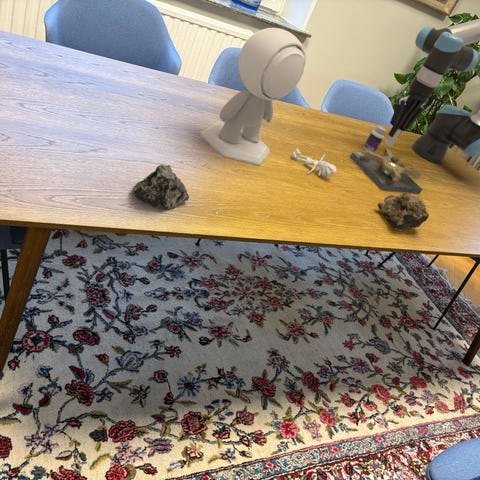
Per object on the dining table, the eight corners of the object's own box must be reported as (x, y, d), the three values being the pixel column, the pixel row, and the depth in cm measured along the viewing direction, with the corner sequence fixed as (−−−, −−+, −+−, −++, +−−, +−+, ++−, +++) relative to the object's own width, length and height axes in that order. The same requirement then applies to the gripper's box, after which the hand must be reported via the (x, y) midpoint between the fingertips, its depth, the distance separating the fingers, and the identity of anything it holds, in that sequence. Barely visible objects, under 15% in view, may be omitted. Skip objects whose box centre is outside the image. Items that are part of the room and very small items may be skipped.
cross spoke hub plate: (387, 162, 175) (391, 155, 174) (419, 193, 163) (425, 186, 161) (349, 157, 165) (354, 149, 163) (381, 189, 152) (386, 181, 150)
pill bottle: (375, 154, 178) (388, 133, 172) (362, 149, 177) (375, 127, 172) (374, 149, 182) (387, 128, 176) (362, 144, 182) (375, 122, 176)
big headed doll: (234, 168, 125) (287, 43, 105) (188, 124, 136) (228, 4, 116) (281, 163, 139) (335, 52, 119) (235, 124, 149) (278, 16, 130)
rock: (153, 227, 95) (191, 199, 94) (124, 190, 93) (162, 161, 92) (163, 217, 108) (196, 192, 107) (137, 184, 106) (171, 158, 105)
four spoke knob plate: (358, 145, 170) (364, 134, 167) (409, 167, 173) (416, 157, 170) (364, 171, 152) (371, 159, 149) (421, 195, 155) (429, 184, 152)
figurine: (304, 138, 147) (346, 157, 143) (301, 151, 151) (342, 170, 147) (285, 158, 140) (328, 178, 136) (283, 170, 144) (325, 191, 140)
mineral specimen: (365, 203, 139) (382, 177, 134) (393, 206, 146) (411, 181, 140) (391, 234, 130) (411, 207, 124) (421, 236, 136) (441, 210, 131)
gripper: (431, 80, 154) (394, 140, 168) (405, 73, 148) (369, 136, 161) (445, 90, 149) (406, 151, 163) (419, 84, 143) (381, 148, 157)
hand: (387, 144), depth 162 cm, fingers closed
